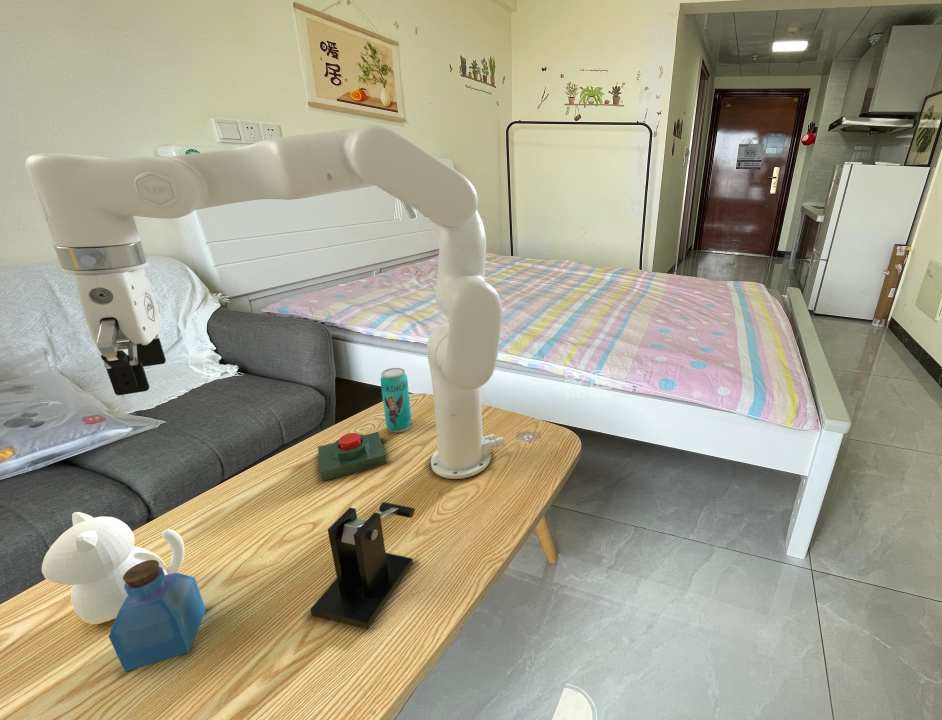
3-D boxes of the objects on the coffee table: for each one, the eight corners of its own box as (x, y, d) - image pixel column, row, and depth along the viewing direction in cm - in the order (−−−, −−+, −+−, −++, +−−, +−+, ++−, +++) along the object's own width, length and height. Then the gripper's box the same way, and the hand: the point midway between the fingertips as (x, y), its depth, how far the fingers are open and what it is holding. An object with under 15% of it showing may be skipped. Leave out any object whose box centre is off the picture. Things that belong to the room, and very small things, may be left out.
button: (359, 437, 95) (358, 430, 95) (362, 447, 92) (361, 440, 92) (339, 442, 93) (337, 435, 93) (340, 452, 90) (339, 445, 90)
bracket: (363, 553, 71) (353, 489, 67) (413, 563, 70) (405, 500, 66) (311, 615, 61) (295, 545, 57) (368, 629, 60) (356, 559, 55)
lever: (383, 512, 73) (386, 498, 73) (413, 518, 72) (415, 504, 72) (330, 539, 61) (333, 522, 61) (365, 547, 60) (368, 529, 60)
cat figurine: (68, 608, 61) (26, 523, 55) (186, 553, 70) (159, 476, 65) (72, 652, 55) (27, 563, 50) (199, 586, 64) (172, 505, 59)
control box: (379, 439, 101) (377, 424, 100) (386, 463, 93) (384, 447, 92) (319, 455, 95) (316, 439, 93) (322, 481, 87) (319, 465, 86)
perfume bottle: (124, 671, 53) (92, 600, 49) (148, 625, 59) (120, 558, 55) (188, 652, 56) (162, 583, 52) (205, 610, 61) (183, 544, 57)
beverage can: (384, 435, 103) (377, 378, 98) (389, 422, 108) (382, 367, 103) (410, 433, 104) (404, 376, 99) (413, 420, 109) (408, 366, 104)
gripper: (124, 268, 51) (165, 398, 56) (159, 245, 64) (189, 352, 70) (27, 273, 47) (81, 412, 52) (86, 248, 60) (124, 360, 66)
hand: (143, 377), depth 61 cm, fingers open, 9 cm apart
